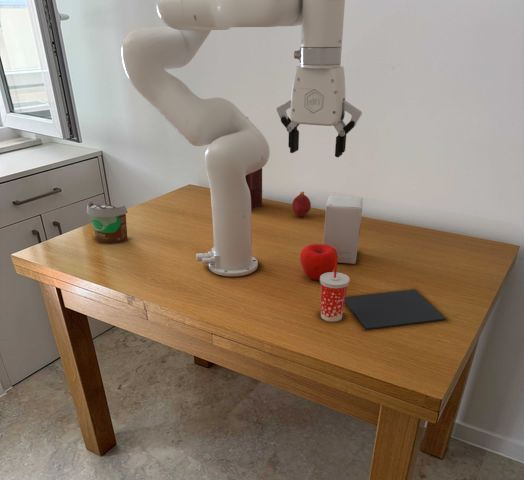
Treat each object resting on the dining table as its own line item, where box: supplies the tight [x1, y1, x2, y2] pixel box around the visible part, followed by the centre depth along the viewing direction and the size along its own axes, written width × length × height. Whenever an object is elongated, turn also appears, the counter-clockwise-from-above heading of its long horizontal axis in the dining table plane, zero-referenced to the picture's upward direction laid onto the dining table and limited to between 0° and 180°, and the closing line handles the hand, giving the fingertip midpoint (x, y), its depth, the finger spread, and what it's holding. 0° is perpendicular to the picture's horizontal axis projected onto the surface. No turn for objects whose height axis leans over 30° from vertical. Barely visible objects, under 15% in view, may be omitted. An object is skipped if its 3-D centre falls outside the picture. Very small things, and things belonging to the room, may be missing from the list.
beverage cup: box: [319, 255, 350, 323], centre depth 107 cm, size 6×6×14 cm
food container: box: [86, 200, 128, 244], centre depth 144 cm, size 12×6×10 cm, turn 68°
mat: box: [344, 289, 446, 331], centre depth 113 cm, size 18×14×1 cm
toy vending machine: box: [245, 116, 263, 211], centre depth 165 cm, size 9×11×28 cm
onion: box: [292, 190, 312, 218], centre depth 162 cm, size 6×6×8 cm
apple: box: [299, 243, 337, 281], centre depth 124 cm, size 9×9×8 cm
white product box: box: [322, 195, 364, 265], centre depth 133 cm, size 9×9×15 cm
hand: (316, 153), depth 105 cm, fingers open, 9 cm apart
